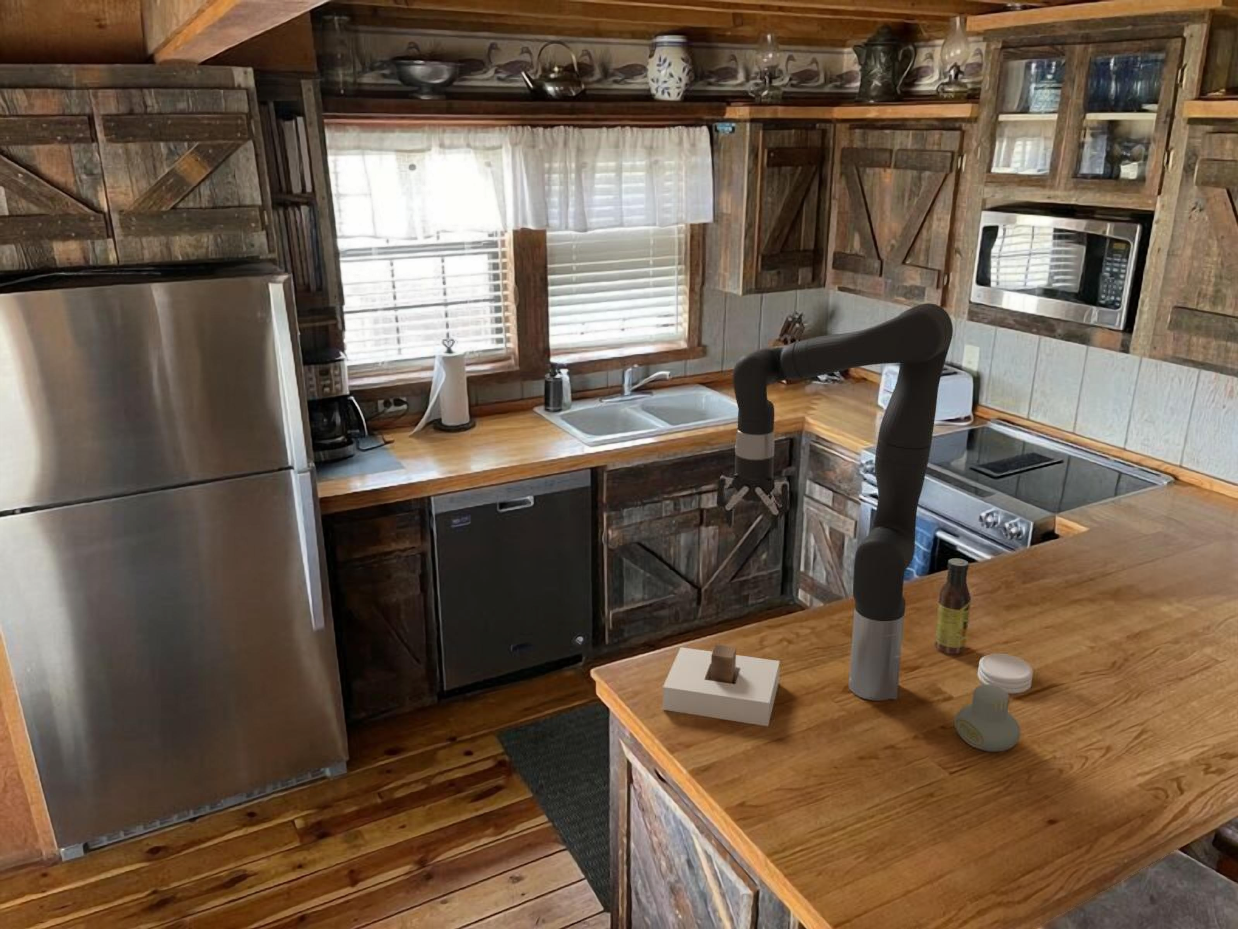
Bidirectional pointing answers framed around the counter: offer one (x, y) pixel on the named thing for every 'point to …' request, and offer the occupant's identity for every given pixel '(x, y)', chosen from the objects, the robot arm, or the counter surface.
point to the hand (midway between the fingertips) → (751, 527)
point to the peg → (723, 664)
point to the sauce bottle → (953, 609)
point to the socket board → (722, 688)
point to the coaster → (1005, 672)
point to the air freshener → (988, 720)
